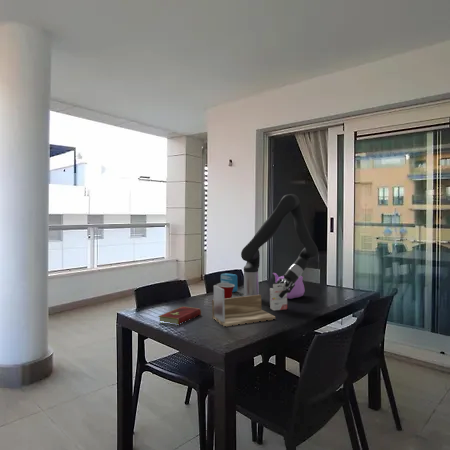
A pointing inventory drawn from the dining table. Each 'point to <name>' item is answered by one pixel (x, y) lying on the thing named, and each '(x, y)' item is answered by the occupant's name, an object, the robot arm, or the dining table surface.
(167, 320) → the hardcover book
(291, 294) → the teapot
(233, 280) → the data package
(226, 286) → the plastic cup
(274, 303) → the ink cartridge box
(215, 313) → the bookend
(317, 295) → the dining table surface
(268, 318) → the shelf board
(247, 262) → the robot arm
